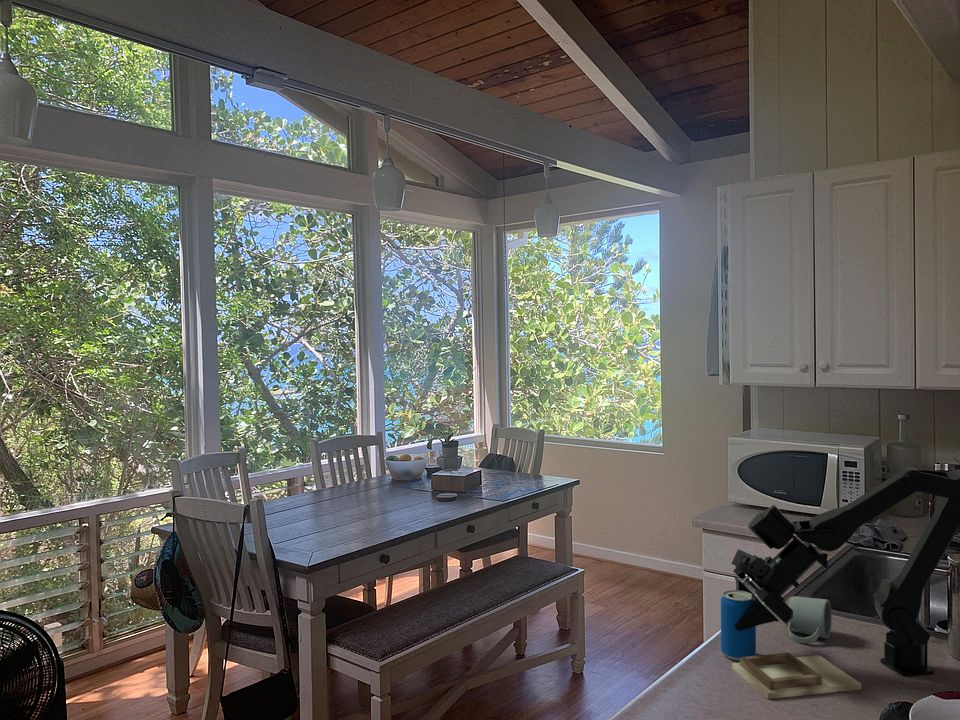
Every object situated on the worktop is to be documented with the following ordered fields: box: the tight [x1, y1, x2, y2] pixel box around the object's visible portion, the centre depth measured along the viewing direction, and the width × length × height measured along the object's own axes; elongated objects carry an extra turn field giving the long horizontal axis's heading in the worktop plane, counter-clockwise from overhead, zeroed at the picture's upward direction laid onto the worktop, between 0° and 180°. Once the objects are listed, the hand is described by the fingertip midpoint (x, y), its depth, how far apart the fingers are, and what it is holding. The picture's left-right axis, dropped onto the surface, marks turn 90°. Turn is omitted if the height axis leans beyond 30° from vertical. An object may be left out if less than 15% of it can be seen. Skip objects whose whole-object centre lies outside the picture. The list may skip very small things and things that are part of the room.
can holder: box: [731, 652, 862, 700], centre depth 134 cm, size 18×12×2 cm, turn 100°
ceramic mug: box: [785, 596, 833, 645], centre depth 153 cm, size 11×8×8 cm
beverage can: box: [720, 589, 757, 662], centre depth 144 cm, size 6×6×12 cm
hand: (730, 622), depth 144 cm, fingers closed on beverage can, 6 cm apart
